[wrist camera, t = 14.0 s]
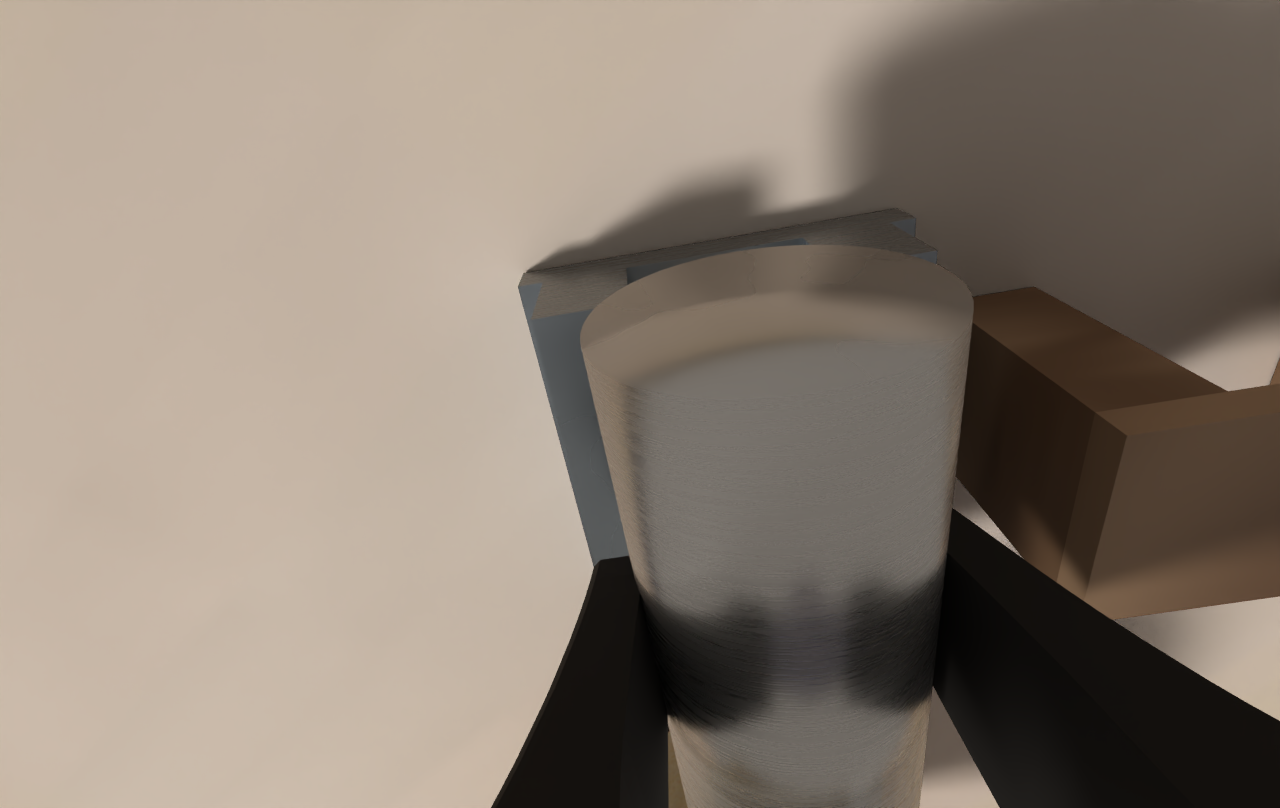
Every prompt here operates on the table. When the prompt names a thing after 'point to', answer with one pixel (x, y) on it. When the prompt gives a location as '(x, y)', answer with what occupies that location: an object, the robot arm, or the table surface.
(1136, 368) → the brown wooden u-shaped block
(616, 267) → the v block
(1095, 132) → the table surface
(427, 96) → the table surface
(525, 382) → the table surface
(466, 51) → the table surface
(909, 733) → the grey metal cylinder
